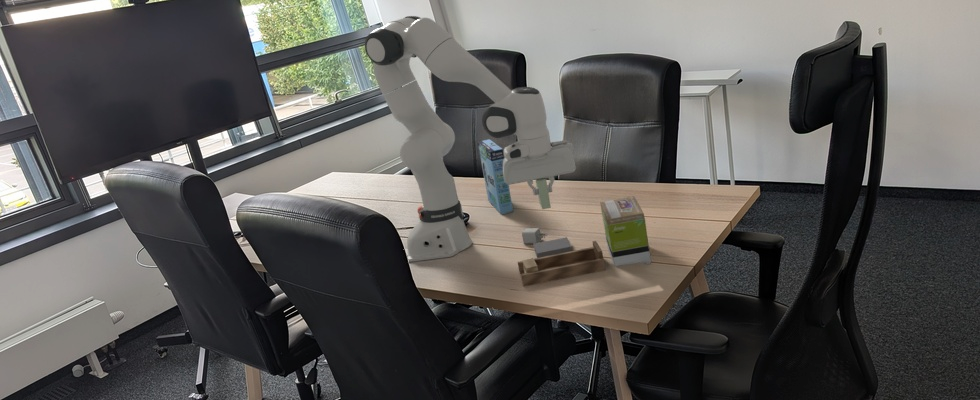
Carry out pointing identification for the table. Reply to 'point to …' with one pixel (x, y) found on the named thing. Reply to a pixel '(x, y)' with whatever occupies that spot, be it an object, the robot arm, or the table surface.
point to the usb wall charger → (532, 235)
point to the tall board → (543, 193)
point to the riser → (552, 247)
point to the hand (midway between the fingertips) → (542, 193)
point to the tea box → (625, 231)
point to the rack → (564, 265)
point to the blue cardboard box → (495, 176)
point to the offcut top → (530, 265)
